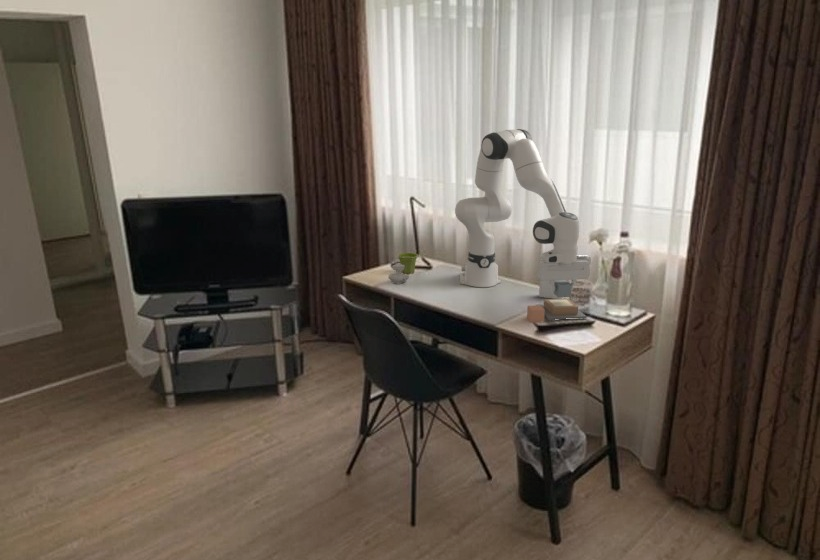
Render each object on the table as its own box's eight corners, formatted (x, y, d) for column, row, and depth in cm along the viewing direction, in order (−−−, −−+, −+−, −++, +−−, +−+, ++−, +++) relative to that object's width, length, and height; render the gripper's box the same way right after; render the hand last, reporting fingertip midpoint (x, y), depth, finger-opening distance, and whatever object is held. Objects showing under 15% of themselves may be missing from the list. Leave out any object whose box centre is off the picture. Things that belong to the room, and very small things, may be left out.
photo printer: (537, 297, 252) (539, 269, 249) (539, 294, 256) (541, 266, 252) (562, 300, 248) (564, 272, 245) (564, 297, 252) (566, 269, 248)
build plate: (535, 307, 240) (536, 297, 239) (571, 306, 242) (572, 296, 240) (548, 320, 226) (548, 309, 225) (586, 319, 227) (587, 308, 226)
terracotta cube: (526, 317, 229) (527, 305, 227) (539, 317, 229) (540, 305, 228) (530, 322, 224) (531, 310, 223) (543, 322, 225) (544, 309, 223)
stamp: (410, 283, 270) (410, 265, 268) (401, 286, 266) (401, 268, 263) (396, 279, 276) (396, 261, 274) (386, 282, 271) (386, 264, 269)
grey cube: (553, 293, 233) (554, 281, 232) (565, 293, 234) (566, 280, 233) (557, 297, 229) (558, 284, 227) (570, 297, 229) (571, 284, 228)
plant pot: (407, 276, 280) (407, 258, 278) (393, 272, 287) (393, 254, 284) (421, 272, 286) (421, 255, 284) (408, 268, 293) (408, 251, 290)
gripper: (587, 253, 231) (584, 287, 235) (536, 254, 229) (534, 288, 233) (594, 257, 225) (591, 292, 229) (542, 258, 223) (539, 293, 227)
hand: (562, 290), depth 231 cm, fingers closed on grey cube, 5 cm apart
